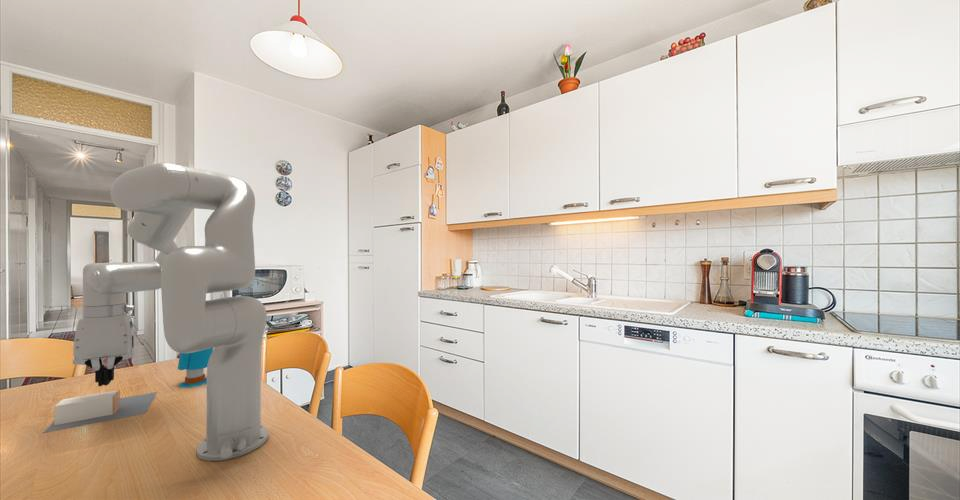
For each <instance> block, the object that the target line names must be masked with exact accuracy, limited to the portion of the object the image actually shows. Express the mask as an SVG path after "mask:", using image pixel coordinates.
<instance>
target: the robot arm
mask: <svg viewBox="0 0 960 500" xmlns="http://www.w3.org/2000/svg"><path fill="white" fill-rule="evenodd" d="M110 198H111V199H110V200H111V201H112V203H113V204H114V206H115V207H116V208H118V209H119V210H122V211H126V212H127V211H128V212H135V214H134V215H133V217H132V219H131V221H130V222H129V224H128V225H127V229H126V231H127V234H128V236H129V237H130V238H131V239H132V240H133V241H134V242H136V243H138V244H140V245H141V246H144V247H147V248H150V249H152V250H154V251H158V252H159V253H158V254H157V256H156V258H155V259H154V260H153V261H125V262H90V263H88V264H86V265H84V266H83V269H82V317H81V318H79V319H78V321H77V324H76V329H75V334H74V339H73V349H72V350H73V351H72V353H73V354H72V355H73V359H72V364H73V365H78V366H83V365H84V366H87V367H89V368H91V369H92V370H93V371H95V374H94V375H95V376H94V379H95V380H94V381H95V383H97V384H98V385H97V387H102V386H108V385H110V383H111V382H112V381H114V379H115V366H117V365H118V364H119V363H120V362H121V361H125V360H127V359H130V358H133V357H134V356H135V351H134V348H135V332H134V331H135V330H134V322H133V318H132V315H131V314H130V313H129V314H127V313H128V312H131V311H135V310H134V309H135V306H134V304H133V305H131V304H128V302H127V294H128V293H137V292H145V291H146V292H147V291H148V292H149V291H155V290H156V291H157V290H160V291H161V293H160V294H161V307H162V308H161V309H162V311H161V312H162V324H163V333H164V338H165V341H166V344H167V345H168V346H169V348H170V349H171V350H172V351H174V352H176V353H178V354H179V353H193V352H197V351H202V350H205V349H209V348H213V352H212V354H211V356H210V358H209V362H208V365H207V367H206V378H207V383H206V438H205V439H203V440H202V441H201V442H200V443H199V444H198V445H197V448H196V456H197V458H199V459H200V460H203V461H207V462H216V461H224V460H225V461H226V460H229V459H235V458H238V457H241V456H243V455H246V454H248V453H251V452H253V451H255V450H257V449H258V448H260V447H261V446H263V444H265V443H266V442H267V440H268V439H269V436H270V431H269V428H267V427H266V426H264V425H262V424H261V422H262V421H261V420H262V419H261V418H262V416H261V415H262V413H261V412H262V411H261V409H262V407H261V406H262V405H261V404H262V403H261V399H262V396H261V395H262V391H261V389H262V388H261V387H262V348H263V347H262V346H263V339H264V334H265V329H266V327H267V326H266V325H267V316H268V315H267V310H266V307H265V305H264V303H263V302H261V301H260V300H259V299H257V298H255V297H253V296H247V295H240V296H239V295H238V296H228V297H220V298H215V299H210V300H209V299H208V300H206V299H207V294H212V293H223V292H228V291H230V292H231V291H235V290H236V291H237V290H241V289H245V288H247V287H249V286H250V285H252V283H254V280H255V276H256V261H255V260H256V257H255V243H254V230H253V228H254V227H253V224H254V215H255V208H256V198H255V194H254V191H253V189H252V187H251V186H250V185H249V184H248V183H247V182H246V181H245V180H243V179H241V178H238V177H236V176H233V175H229V174H225V173H221V172H217V171H212V170H207V169H201V168H195V167H192V166H185V165H180V164H177V163H176V164H175V163H170V162H169V163H168V162H156V163H151V164H148V165H144V166H141V167H136V168H133V169H129V170H127V171H125V172H123V173H122V174H119V176H117V178H115V180H114V182H113V183H112V186H111V188H110ZM195 209H199V210H200V209H201V210H209V211H213V212H211V214H210V216H209V217H208V219H207V220H206V222H205V225H204V239H205V240H204V245H188V246H187V245H186V246H180V247H178V245H177V243H176V241H175V238H176V237H177V236H178V235H179V233H180V231H181V230H182V228H183V226H184V224H186V221H187V219H188V218H189V217H190V215H191V213H192V212H193V210H195ZM103 358H107V363H106V365H104V362H103Z"/></svg>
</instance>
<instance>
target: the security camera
mask: <svg viewBox="0 0 960 500" xmlns="http://www.w3.org/2000/svg"><path fill="white" fill-rule="evenodd" d="M213 350H214V347H213V348H209V349H205V350H202V351H197V352H193V353H178V354H177V356H176V358H177V359H178V363H177V370H179V371H184V370H185V371H186V373H185V374H186V376H185V378H184V381H183V382H181V383H179V385H178V386H179V388H194V387H198V386H199V387H200V386H202V385H205V384H206V385H207V377H206V374H205V373H204V371H205V369H207V365H208V362H209V358H210V356H211V354H212V352H213Z"/></svg>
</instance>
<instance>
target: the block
mask: <svg viewBox="0 0 960 500" xmlns="http://www.w3.org/2000/svg"><path fill="white" fill-rule="evenodd" d="M120 396H121V390H120V389H119V390H112V391H107V392H100V393H95V394H94V393H93V394H88V395H87V394H86V395H82V396H75V397H70V398H63V399H61V400H59V402H58V403H56V404H55V405H54V422H53V423H54V425H59V424H64V423H69V422H75V421H80V420H85V419H91V418H96V417H101V416H107V415H112V414H115V413H116V412H117V410H118V409H119V408H120V398H121V397H120Z"/></svg>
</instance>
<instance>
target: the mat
mask: <svg viewBox="0 0 960 500" xmlns="http://www.w3.org/2000/svg"><path fill="white" fill-rule="evenodd" d="M157 394H158V391H157V392H149V393H144V394H138V395H132V396H125V397H122V398H121V397H120V408H119V409H118V410H117V412H116V413H115V414H112V415H107V416H101V417H96V418H91V419H85V420H80V421H75V422H69V423H64V424H59V425H54V422H53V423H51V424H50V425H49V426H48V427H46V429H45V430H44V431H43V432H42V434H45V433H51V432H56V431H60V430H66V429H72V428H77V427H82V426H86V425H92V424H98V423H103V422H108V421H113V420H118V419H119V420H120V419H124V418H130V417H134V416H139V415H145V414H147V412H148V410H149V409H150V406H151V405H152V403H153V401H154V399H155V397H156V396H157Z"/></svg>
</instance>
